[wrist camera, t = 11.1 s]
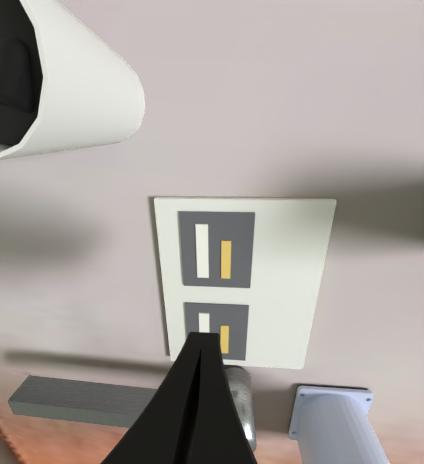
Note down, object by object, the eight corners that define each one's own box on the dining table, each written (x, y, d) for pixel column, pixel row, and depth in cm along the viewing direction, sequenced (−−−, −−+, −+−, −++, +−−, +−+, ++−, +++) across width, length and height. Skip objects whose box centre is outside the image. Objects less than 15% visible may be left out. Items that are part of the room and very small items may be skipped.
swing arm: (252, 368, 25) (258, 434, 19) (249, 390, 26) (254, 458, 21) (46, 347, 26) (-4, 404, 21) (53, 370, 27) (8, 428, 22)
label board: (301, 364, 24) (303, 372, 24) (171, 356, 25) (169, 363, 25) (333, 198, 18) (338, 201, 17) (156, 196, 19) (152, 199, 18)
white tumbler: (158, 57, 15) (45, -70, 6) (144, 159, 18) (50, 182, 8) (59, 29, 15) (-218, -150, 6) (59, 136, 17) (-132, 132, 8)
